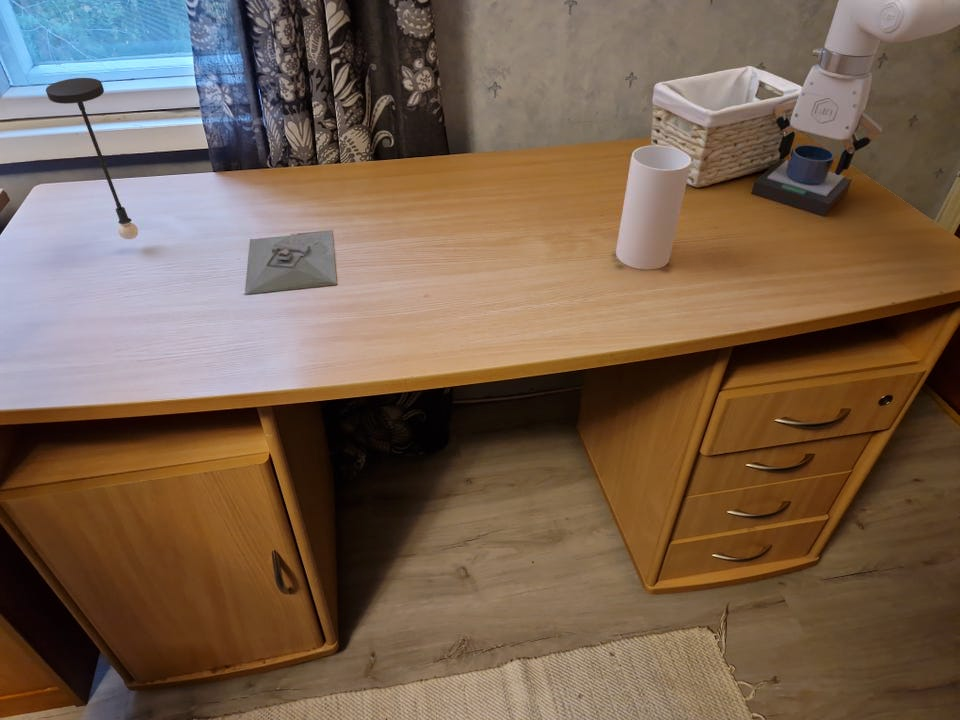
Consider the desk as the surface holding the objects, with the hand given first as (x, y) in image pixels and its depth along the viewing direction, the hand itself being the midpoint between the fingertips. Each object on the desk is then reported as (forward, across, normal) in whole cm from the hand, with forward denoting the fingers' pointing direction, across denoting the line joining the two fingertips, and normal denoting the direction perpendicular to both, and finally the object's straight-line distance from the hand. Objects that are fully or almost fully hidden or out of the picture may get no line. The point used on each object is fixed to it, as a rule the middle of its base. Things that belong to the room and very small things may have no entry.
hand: (811, 164), depth 118 cm
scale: (+5, 0, 0) cm, 5 cm away
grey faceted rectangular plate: (+5, -56, -72) cm, 92 cm away
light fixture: (+5, -72, -87) cm, 114 cm away
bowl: (+2, 0, 0) cm, 3 cm away
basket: (+5, -17, +1) cm, 18 cm away
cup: (+6, -11, -37) cm, 39 cm away
